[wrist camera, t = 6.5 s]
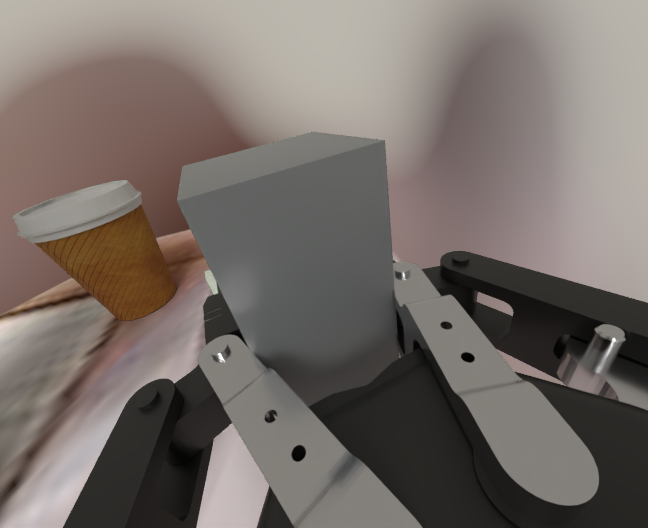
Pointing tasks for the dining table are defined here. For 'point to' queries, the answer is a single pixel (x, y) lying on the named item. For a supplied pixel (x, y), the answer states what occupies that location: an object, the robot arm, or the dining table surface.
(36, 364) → the dining table surface
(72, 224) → the disposable coffee cup
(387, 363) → the tall gray pillar block
